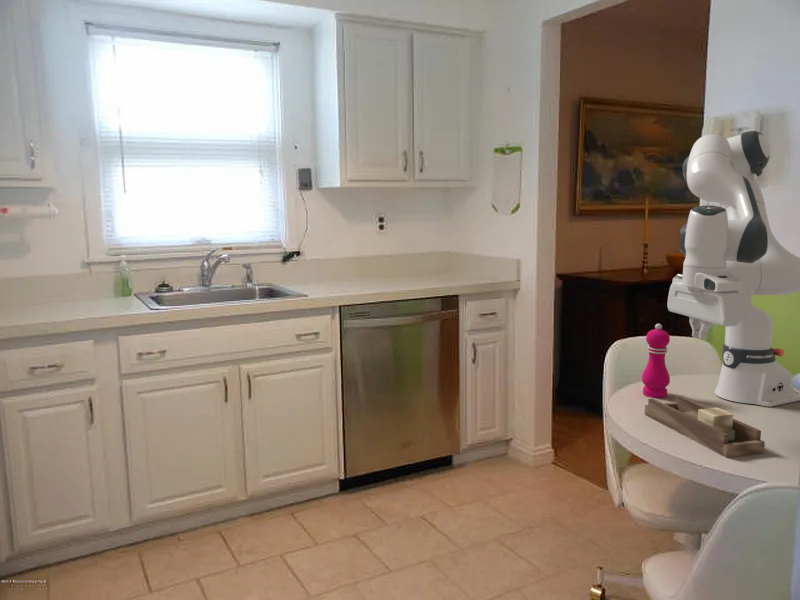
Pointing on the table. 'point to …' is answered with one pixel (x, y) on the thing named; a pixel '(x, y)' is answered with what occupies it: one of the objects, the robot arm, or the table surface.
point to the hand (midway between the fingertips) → (699, 337)
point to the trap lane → (706, 428)
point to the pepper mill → (656, 364)
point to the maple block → (716, 418)
